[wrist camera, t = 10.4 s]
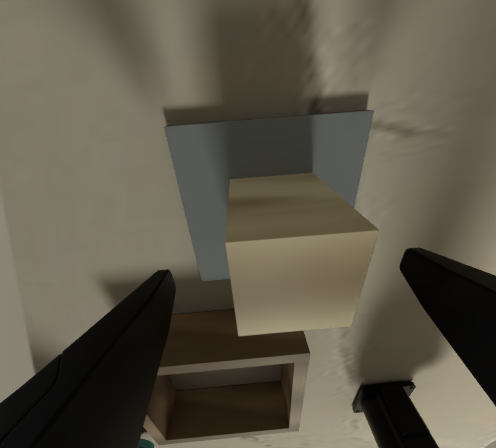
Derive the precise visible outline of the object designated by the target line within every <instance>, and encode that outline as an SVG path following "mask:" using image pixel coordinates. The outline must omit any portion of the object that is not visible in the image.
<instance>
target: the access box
mask: <svg viewBox="0 0 496 448" xmlns="http://www.w3.org/2000/svg"><path fill="white" fill-rule="evenodd" d="M309 357H310V351H309V348H308V345H307V341H306V338H305V335H304V332H303V331H291V332H280V333H269V334H258V335H247V336H238V329H237V322H236V315H235V309H231V310H220V311H209V312H198V313H187V314H176V315H172V317H171V323H170V329H169V333H168V337H167V341H166V345H165V348H164V352H163V356H162V359H161V363H160V367H159V370H158V374H157V378H156V381H155V385H154V389H153V392H152V396H151V400H150V404H149V407H148V411H147V415H146V418H145V422H144V426H143V427H144V428H145V429H146V430H147V432H148V433H149V434H150V435H151V436H152V438H153V439H154V440H155V441H156V442H157V444H158V445H164V444H174V443H184V442H194V441H204V440H214V439H224V438H234V437H244V436H254V435H264V434H274V433H284V432H295V431H299V426H300V419H301V412H302V405H303V398H304V391H305V385H306V378H307V371H308V364H309ZM275 364H282V370H281V381H278V382H268V383H258V384H247V385H237V386H226V387H216V388H205V389H195V390H185V391H176V390H175V388H174V386H173V384H172V382H171V380H170V378H169V376H168V375H169V374H180V373H190V372H201V371H212V370H222V369H233V368H243V367H254V366H264V365H275Z"/></svg>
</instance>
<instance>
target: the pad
mask: <svg viewBox="0 0 496 448" xmlns="http://www.w3.org/2000/svg"><path fill="white" fill-rule="evenodd" d="M373 112H374V110H363V111H351V112H338V113H325V114H312V115H299V116H287V117H274V118H261V119H248V120H236V121H223V122H210V123H197V124H184V125H172V126H165V127H164V128H165V132H166V137H167V141H168V145H169V149H170V153H171V157H172V161H173V165H174V169H175V174H176V178H177V182H178V186H179V190H180V194H181V198H182V202H183V206H184V211H185V215H186V219H187V223H188V227H189V231H190V235H191V239H192V243H193V248H194V252H195V256H196V260H197V264H198V268H199V272H200V276H201V280H202V281H213V280H225V279H230V272H229V265H228V258H227V251H226V244H225V241H226V227H227V213H228V198H229V184H230V179H238V178H251V177H264V176H277V175H290V174H303V173H313V174H315V175H316V176H317V177H318V178H319V179H320V180H322V181H323V182H324V183H325V184H326V185H327V186H329V187H330V188H331V189H332V190H333V191H334V192H336V193H337V194H338V195H339V196H340V197H341V198H343V199H344V200H345V201H346V202H347V203H348V204H349V205H351V206H352V207H353V208H354V205H355V200H356V195H357V190H358V185H359V181H360V176H361V171H362V166H363V161H364V156H365V151H366V146H367V142H368V137H369V132H370V127H371V122H372V117H373Z"/></svg>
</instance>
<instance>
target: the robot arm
mask: <svg viewBox="0 0 496 448" xmlns="http://www.w3.org/2000/svg"><path fill="white" fill-rule="evenodd" d="M400 270H401V272H402V274H403V276H404V277H405V279H406V281H407V282H408V284H409V286H410V287H411V289H412V291H413V292H414V294H415V296H416V297H417V299H418V300H419V302H420V304H421V305H422V307H423V308H424V310H425V311H426V313H427V314H428V315H429V317H430V318H431V319H432V321H433V322H434V323H435V325H436V326H437V327H438V329H439V330H440V332H441V333H442V334H443V336H444V337H445V338H446V340H447V341H448V342H449V344H450V345H451V346H452V348H453V349H454V350H455V352H456V353H457V355H458V356H459V357H460V359H461V360H462V361H463V363H464V364H465V365H466V367H467V368H468V369H469V371H470V372H471V373H472V375H473V376H474V378H475V379H476V380H477V382H478V383H479V384H480V386H481V387H482V388H483V390H484V391H485V392H486V394H487V395H488V396H489V398H490V399H491V401H492V402H493V403H494V405H495V406H496V276H495V275H492V274H490V273H487V272H484V271H482V270H479V269H476V268H473V267H471V266H468V265H465V264H463V263H460V262H457V261H454V260H452V259H449V258H446V257H444V256H441V255H438V254H436V253H433V252H430V251H427V250H425V249H422V248H409V249H407V250H406V251H405V253H404V255H403V258H402V260H401V263H400ZM175 291H176V287H175V283H174V280H173V277H172V274H171V271H170V270H168V269H167V270H158V271H157V272H155V273H154V274H153V275H152V276H151V277H150V278H148V279H147V280H146V281H145V282H144V283H143V284H141V285H140V286H139V287H138V288H137V289H136V290H134V291H133V292H132V293H131V294H130V295H129V296H127V297H126V298H125V299H124V300H123V301H121V302H120V303H119V304H118V305H117V306H116V307H114V308H113V309H112V310H111V311H110V312H109V313H107V314H106V315H105V316H104V317H103V318H102V319H100V320H99V321H98V322H97V323H96V324H95V325H93V326H92V327H91V328H90V329H89V330H88V331H86V332H85V333H84V334H83V335H82V336H81V337H79V338H78V339H77V340H76V341H75V342H73V343H72V344H71V345H70V346H69V347H68V348H66V349H65V350H64V351H63V352H62V354H60V355H58V356H57V357H56V358H55V359H53V360H52V361H51V362H50V363H49V364H48V365H46V366H45V367H44V368H43V369H42V370H40V371H39V372H38V373H37V374H36V375H34V376H33V377H32V378H31V379H30V380H28V381H27V382H26V383H25V384H24V385H22V386H21V387H20V388H19V389H18V390H16V391H15V392H14V393H12V394H11V395H10V396H9V397H7V398H6V399H5V400H4V401H2V402H1V403H0V448H138V444H139V440H140V437H141V433H142V429H143V426H144V422H145V418H146V415H147V411H148V407H149V404H150V400H151V396H152V392H153V389H154V385H155V381H156V378H157V374H158V370H159V367H160V363H161V359H162V356H163V352H164V348H165V345H166V341H167V337H168V333H169V329H170V323H171V317H172V310H173V304H174V298H175ZM415 387H416V386H415V385H414V383H413V382H404V383H393V384H383V385H373V386H364V387H362V388H361V389H360V391H359V394H358V396H357V398H356V401H355V403H354V405H353V408H352V409H353V411H354V413H360V412H364V414H365V417H366V419H367V421H368V424H369V426H370V428H371V431H372V433H373V436H374V438H375V440H376V443H377V445H378V447H379V448H439V447H438V445H437V444H436V442H435V440H434V439H433V437H432V435H431V433H430V431H429V429H428V428H427V426H426V424H425V423H424V421H423V419H422V418H421V416H420V414H419V413H418V411H417V409H416V408H415V406H414V404H413V403H412V401H411V399H410V398H409V396H410V395H411V393H412V392H413V390H414V389H415Z"/></svg>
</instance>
